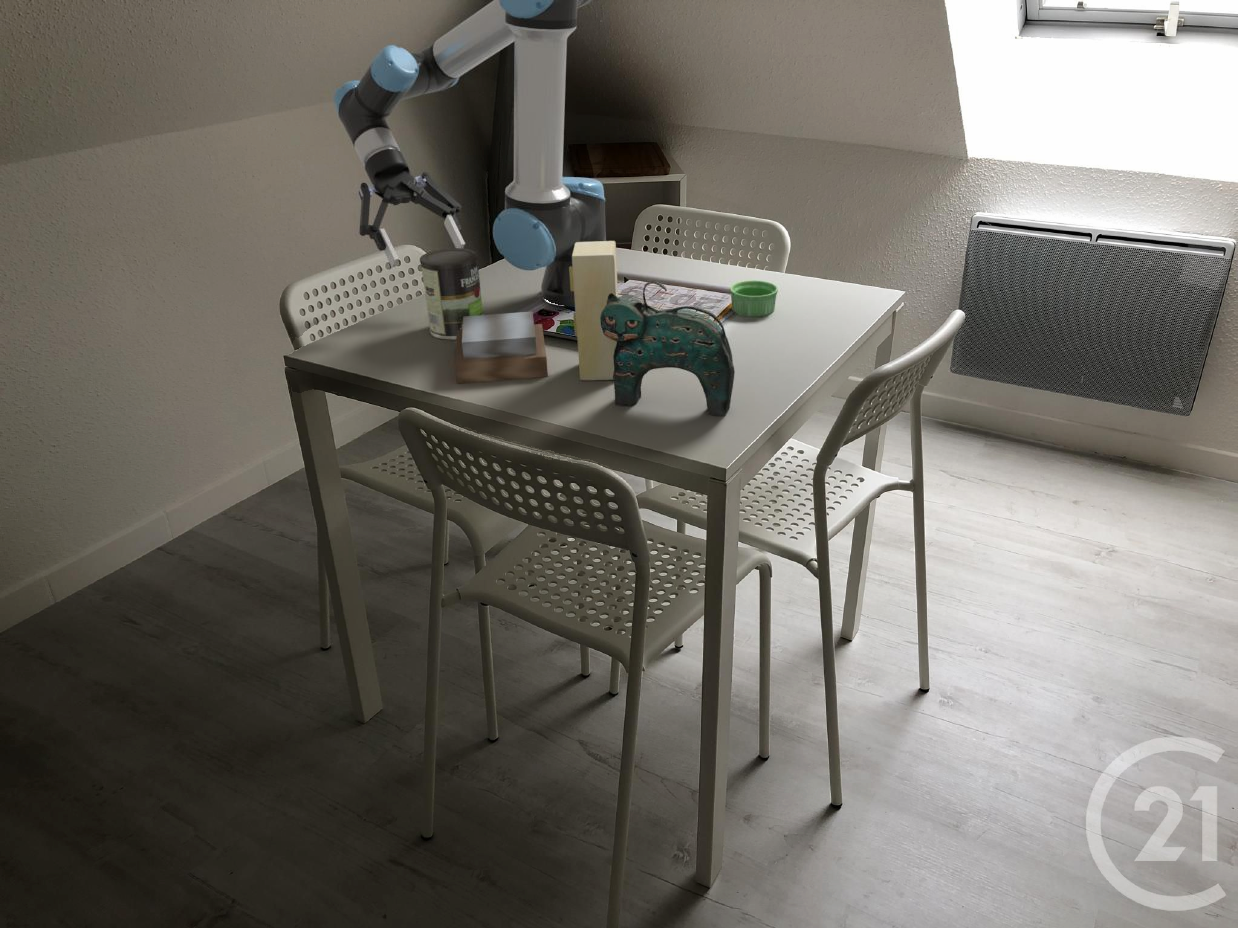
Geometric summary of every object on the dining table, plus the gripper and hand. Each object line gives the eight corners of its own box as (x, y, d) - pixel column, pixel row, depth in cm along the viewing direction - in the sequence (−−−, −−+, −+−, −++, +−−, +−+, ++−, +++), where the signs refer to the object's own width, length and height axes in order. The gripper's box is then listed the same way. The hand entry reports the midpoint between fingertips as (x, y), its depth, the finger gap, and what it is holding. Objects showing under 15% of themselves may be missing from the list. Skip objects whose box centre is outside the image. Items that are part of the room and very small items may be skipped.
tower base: (543, 342, 174) (540, 307, 171) (547, 376, 161) (545, 339, 158) (459, 348, 173) (454, 314, 170) (456, 383, 160) (452, 346, 157)
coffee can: (494, 322, 184) (487, 249, 177) (469, 342, 175) (460, 267, 168) (446, 317, 187) (437, 245, 180) (419, 337, 179) (408, 262, 172)
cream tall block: (578, 362, 166) (571, 241, 156) (621, 361, 166) (616, 240, 155) (574, 381, 159) (567, 256, 149) (619, 380, 159) (615, 255, 148)
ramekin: (719, 310, 186) (720, 288, 184) (752, 298, 191) (753, 277, 188) (753, 322, 180) (754, 299, 178) (786, 310, 184) (788, 288, 182)
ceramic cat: (602, 406, 151) (596, 282, 141) (615, 389, 156) (611, 268, 146) (727, 422, 145) (730, 293, 135) (737, 403, 150) (740, 278, 140)
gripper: (437, 161, 192) (482, 252, 189) (316, 182, 180) (362, 280, 176) (446, 137, 186) (493, 231, 183) (321, 157, 173) (369, 259, 170)
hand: (429, 255), depth 179 cm, fingers open, 13 cm apart
